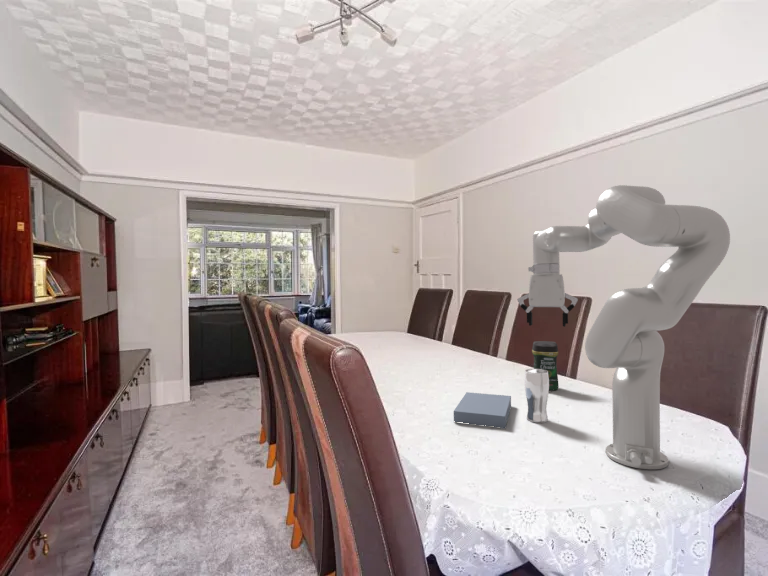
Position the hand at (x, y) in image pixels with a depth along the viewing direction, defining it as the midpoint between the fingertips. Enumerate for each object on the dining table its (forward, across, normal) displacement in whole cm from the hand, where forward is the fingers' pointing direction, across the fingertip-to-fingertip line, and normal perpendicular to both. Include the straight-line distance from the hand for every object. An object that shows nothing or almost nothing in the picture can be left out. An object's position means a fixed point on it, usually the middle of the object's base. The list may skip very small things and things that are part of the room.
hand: (547, 325), depth 125 cm
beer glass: (+29, -3, -3) cm, 29 cm away
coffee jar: (+29, -4, +36) cm, 46 cm away
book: (+29, -19, -4) cm, 35 cm away
